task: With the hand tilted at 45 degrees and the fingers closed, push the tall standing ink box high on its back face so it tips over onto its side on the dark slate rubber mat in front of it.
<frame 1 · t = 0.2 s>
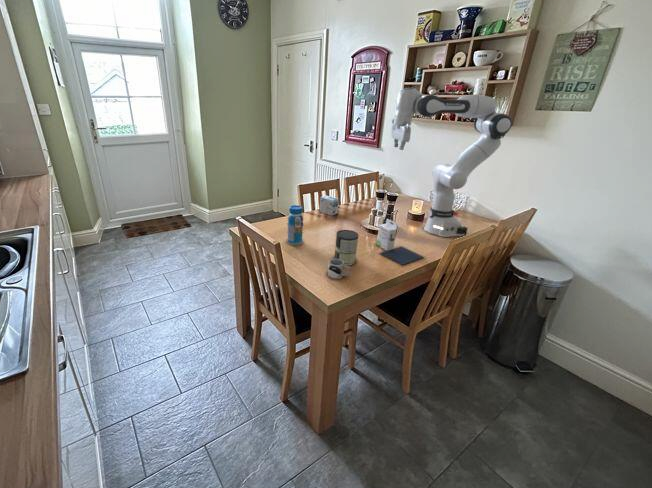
hand: (398, 148, 177), 48 cm above the table, tool pointing down, fingers open, 8 cm apart
mug: (338, 276, 146), on the table
beverage bottle: (294, 242, 178), on the table
mat: (401, 255, 166), on the table
coffee can: (344, 260, 160), on the table
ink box: (384, 247, 175), on the table
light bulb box: (328, 213, 222), on the table
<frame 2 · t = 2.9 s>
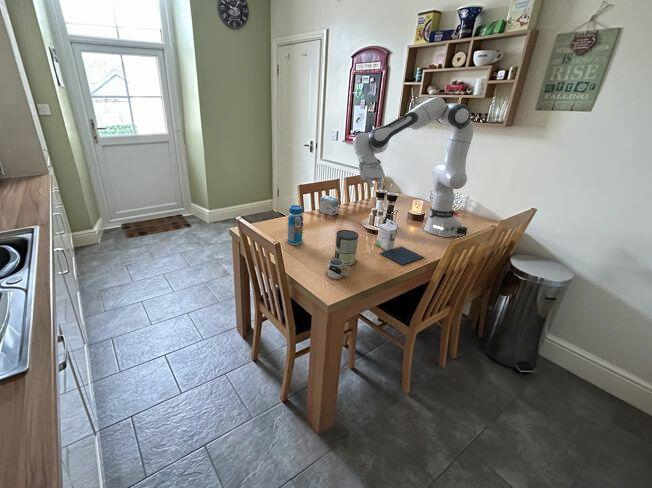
hand: (376, 186, 175), 29 cm above the table, tool tilted 35°, fingers open, 8 cm apart
nothing on the table moved.
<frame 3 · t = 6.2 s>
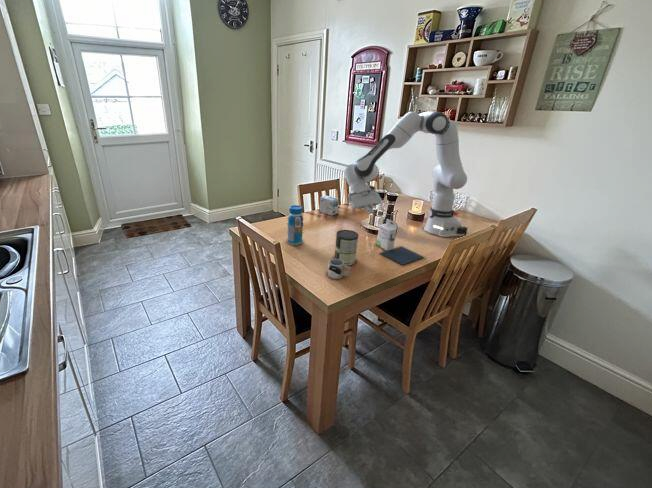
hand: (371, 213, 178), 15 cm above the table, tool tilted 45°, fingers closed
nothing on the table moved.
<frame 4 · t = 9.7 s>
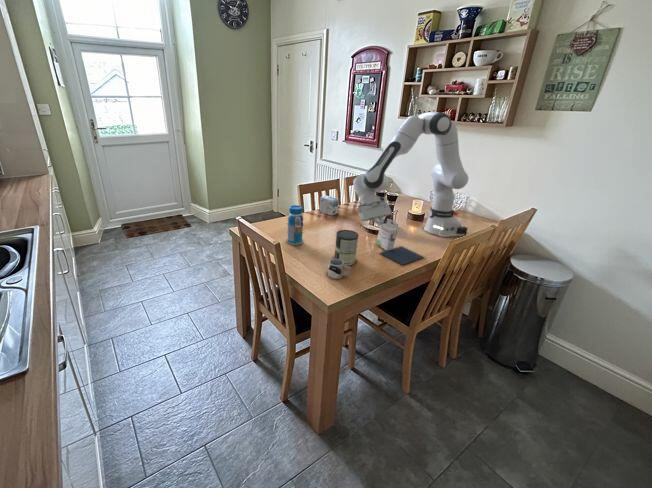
hand: (381, 225, 174), 11 cm above the table, tool tilted 45°, fingers closed, pressing on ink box
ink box: (384, 247, 175), on the table, touching gripper
everything else where it was.
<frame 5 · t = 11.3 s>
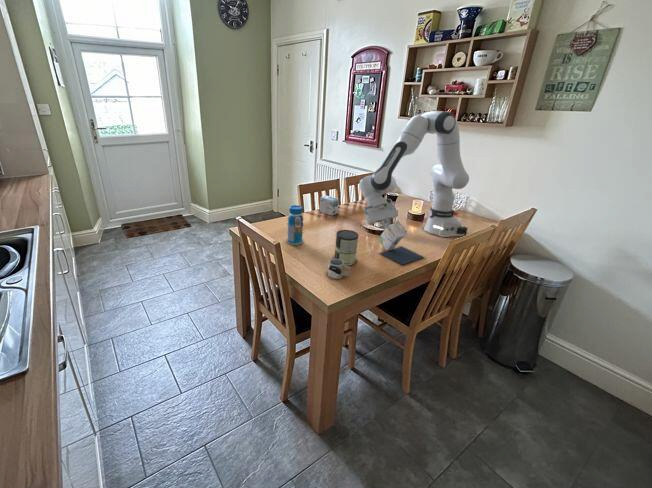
hand: (388, 228, 170), 11 cm above the table, tool tilted 45°, fingers closed, pressing on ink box
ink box: (385, 244, 174), point 2 cm above the table, touching gripper
everything else where it was.
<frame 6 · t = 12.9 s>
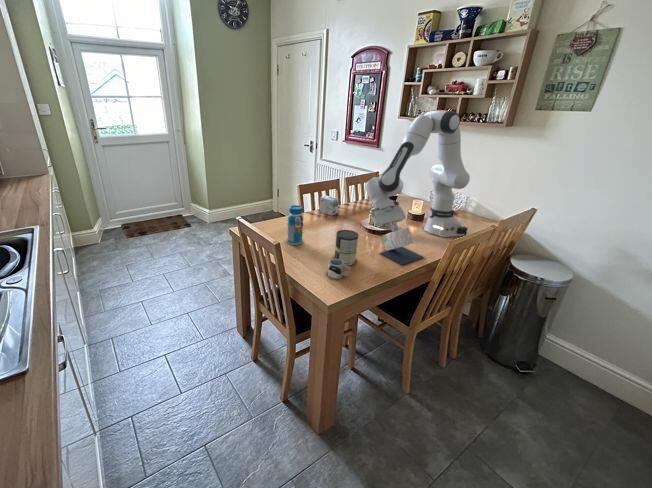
hand: (395, 230, 166), 12 cm above the table, tool tilted 45°, fingers closed, pressing on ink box
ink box: (387, 242, 172), point 3 cm above the table, touching gripper, mat
everything else where it was.
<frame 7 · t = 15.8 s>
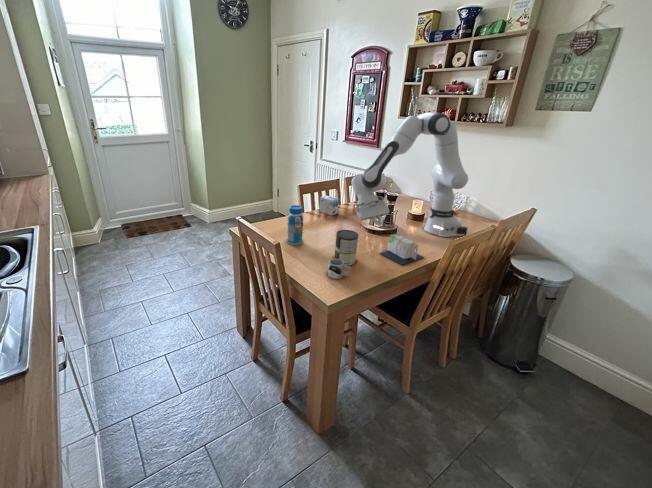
hand: (379, 224, 175), 11 cm above the table, tool tilted 45°, fingers closed
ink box: (391, 241, 170), point 5 cm above the table, touching mat
everything else where it was.
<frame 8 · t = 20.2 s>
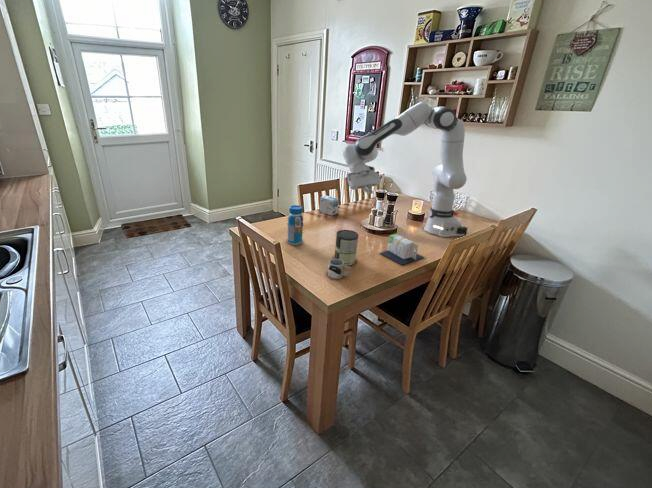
hand: (370, 193, 177), 25 cm above the table, tool tilted 45°, fingers closed
nothing on the table moved.
at the end: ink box tilted 89°; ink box touching mat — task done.
